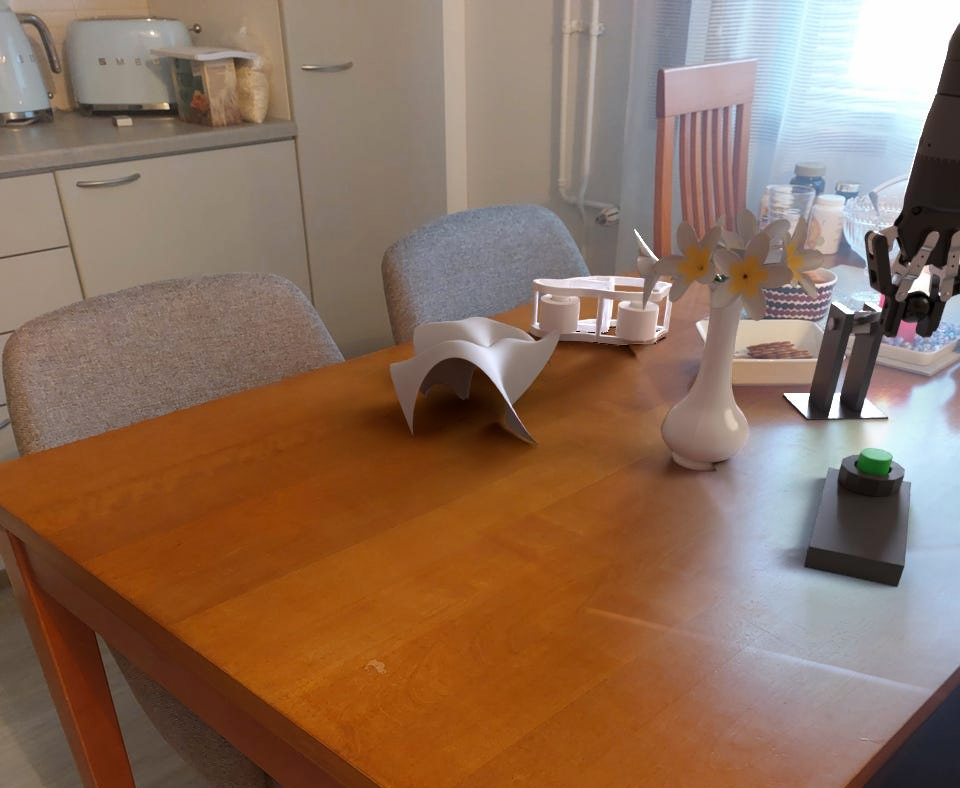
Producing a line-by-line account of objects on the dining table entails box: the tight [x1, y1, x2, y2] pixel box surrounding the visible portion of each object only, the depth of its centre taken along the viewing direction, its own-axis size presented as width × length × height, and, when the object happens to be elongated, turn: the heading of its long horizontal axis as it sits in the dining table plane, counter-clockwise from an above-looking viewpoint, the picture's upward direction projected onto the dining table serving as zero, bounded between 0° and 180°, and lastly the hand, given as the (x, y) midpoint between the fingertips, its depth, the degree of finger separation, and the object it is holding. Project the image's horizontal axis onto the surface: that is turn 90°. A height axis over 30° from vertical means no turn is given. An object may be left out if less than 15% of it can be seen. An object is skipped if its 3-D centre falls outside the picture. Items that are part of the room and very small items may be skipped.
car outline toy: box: [529, 275, 673, 344], centre depth 133 cm, size 20×11×7 cm, turn 78°
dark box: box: [803, 454, 912, 588], centre depth 88 cm, size 19×8×4 cm, turn 157°
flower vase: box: [633, 207, 825, 472], centre depth 94 cm, size 13×18×25 cm
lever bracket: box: [782, 302, 889, 421], centre depth 109 cm, size 8×10×13 cm
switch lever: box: [849, 289, 931, 337], centre depth 101 cm, size 15×3×3 cm, turn 6°
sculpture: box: [389, 316, 561, 446], centre depth 111 cm, size 25×19×10 cm
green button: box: [856, 447, 894, 475], centre depth 91 cm, size 3×3×2 cm
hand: (905, 334), depth 96 cm, fingers closed on switch lever, 3 cm apart
